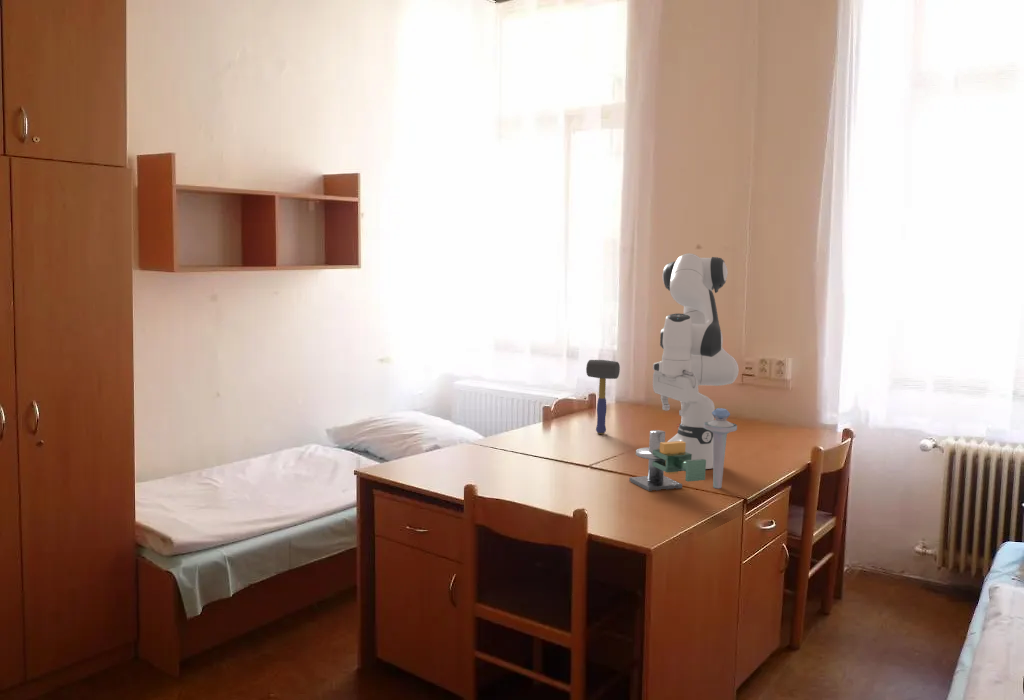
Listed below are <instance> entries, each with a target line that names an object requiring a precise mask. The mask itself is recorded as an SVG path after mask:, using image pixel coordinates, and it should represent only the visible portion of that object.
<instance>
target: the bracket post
mask: <svg viewBox="0 0 1024 700" xmlns="http://www.w3.org/2000/svg"><path fill="white" fill-rule="evenodd" d="M660 442H666V431H664V430H659V429H653V430H650V431H649V442H648V445H649V446H648V447H640V448H637V449H636V450H635V455H636V456H637V457H638V458H642V459H646V460H648V465H647V466H648V467H647V468H648V471H647V474H648V475H644V476H643V475H642V476H631V477H629V480H628V481H629V482H630V481H631V482H630V483H632V484H634V485H636V486H637V487H640V488H642V489H644V490H646V491H647V490H648V492H653V491H652V490H656V491H662V490H661V489H666V490H673V489H674V488H676V489H682V488H683V484H682V483H681V482H678V481H676V480H675V479H672V478H670V477H668V476H665V475H664V473H665V472H678V473H679V472H685V476H684V477H685V481H686V482H699V481H705V480H706V470H707V469H706V460H705V459H698V460H691V458H692V454H690V453H687V452H682V453H675V454H663V453H660ZM665 460H666V464H665Z"/></svg>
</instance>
